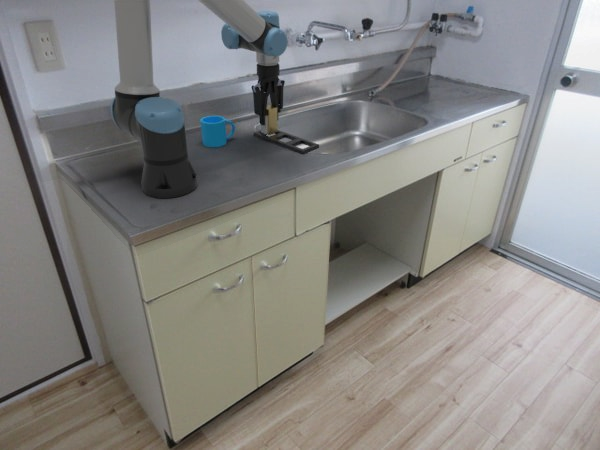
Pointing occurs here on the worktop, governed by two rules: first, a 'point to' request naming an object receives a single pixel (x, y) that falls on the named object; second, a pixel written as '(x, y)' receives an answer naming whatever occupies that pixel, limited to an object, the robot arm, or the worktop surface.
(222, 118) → the mug
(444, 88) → the worktop surface
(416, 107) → the worktop surface
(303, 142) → the dark slotted tray
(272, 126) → the nut block
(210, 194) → the worktop surface
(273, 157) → the worktop surface
